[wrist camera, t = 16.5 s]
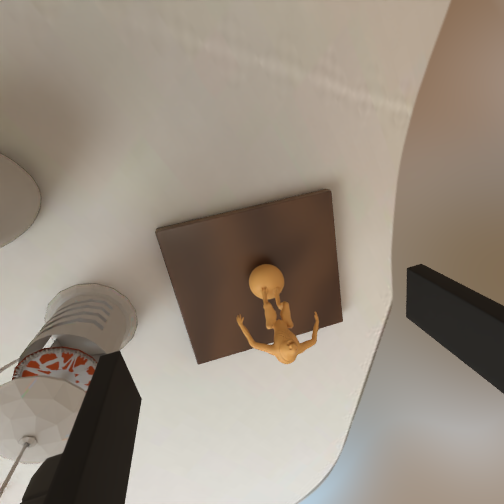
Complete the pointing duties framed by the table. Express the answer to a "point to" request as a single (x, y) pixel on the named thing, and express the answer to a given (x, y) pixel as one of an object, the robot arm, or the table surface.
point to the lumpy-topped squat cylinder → (16, 200)
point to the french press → (60, 371)
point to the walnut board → (244, 262)
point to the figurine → (285, 342)
